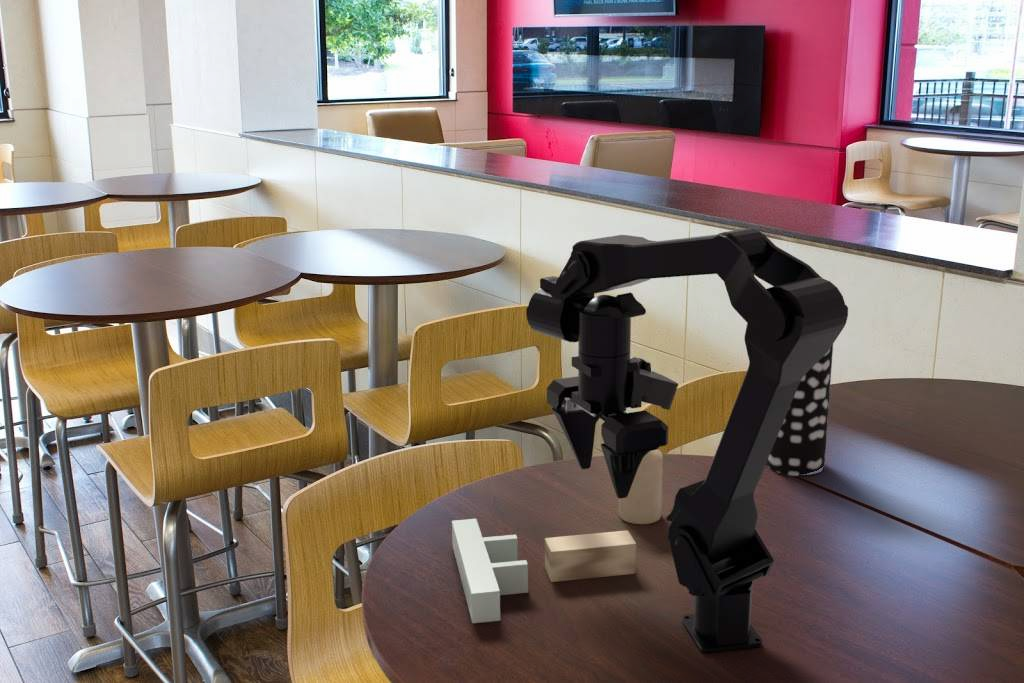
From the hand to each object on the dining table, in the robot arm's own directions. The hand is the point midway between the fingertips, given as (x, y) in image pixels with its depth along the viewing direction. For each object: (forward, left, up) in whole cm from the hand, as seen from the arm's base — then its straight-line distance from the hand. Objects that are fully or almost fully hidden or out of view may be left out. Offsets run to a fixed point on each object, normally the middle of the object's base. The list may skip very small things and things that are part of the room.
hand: (603, 482), depth 116 cm
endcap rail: (0, +14, -11) cm, 17 cm away
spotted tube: (+25, -35, -11) cm, 45 cm away
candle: (+13, -8, -11) cm, 19 cm away
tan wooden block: (0, +2, -11) cm, 11 cm away
